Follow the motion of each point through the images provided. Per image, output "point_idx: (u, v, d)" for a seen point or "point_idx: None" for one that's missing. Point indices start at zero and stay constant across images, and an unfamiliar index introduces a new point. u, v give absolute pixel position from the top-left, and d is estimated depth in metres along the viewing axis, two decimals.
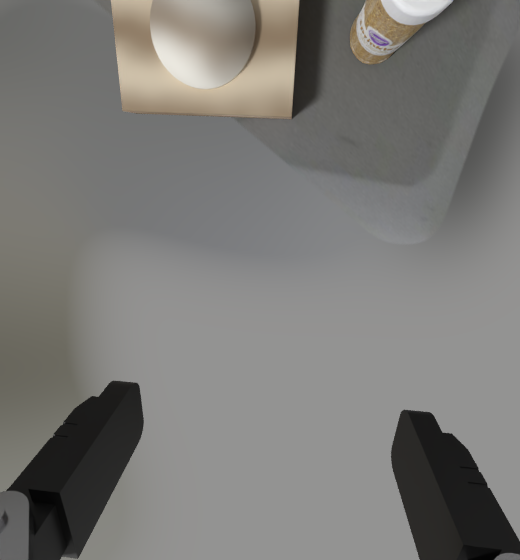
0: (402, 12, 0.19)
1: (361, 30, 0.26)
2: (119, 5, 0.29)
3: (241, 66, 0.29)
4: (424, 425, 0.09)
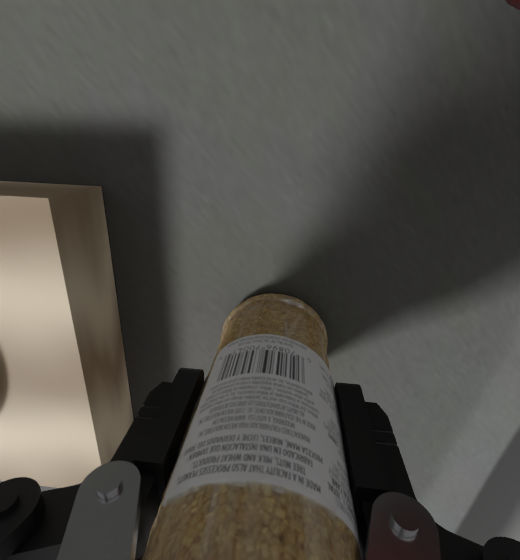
0: None
1: None
2: None
3: None
4: (349, 394, 0.10)
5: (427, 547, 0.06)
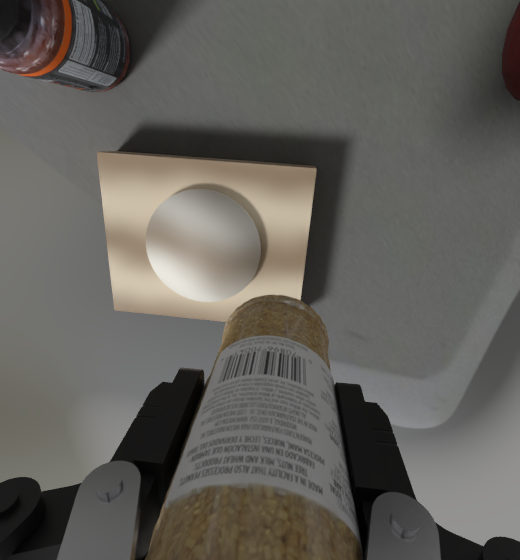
0: None
1: None
2: (112, 219, 0.26)
3: (244, 286, 0.27)
4: (349, 394, 0.10)
5: (427, 547, 0.06)
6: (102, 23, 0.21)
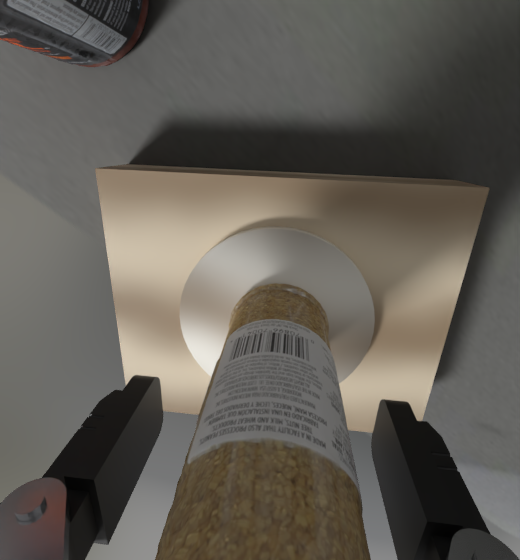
0: None
1: None
2: (123, 277, 0.16)
3: (341, 379, 0.16)
4: (400, 413, 0.09)
5: None
6: None
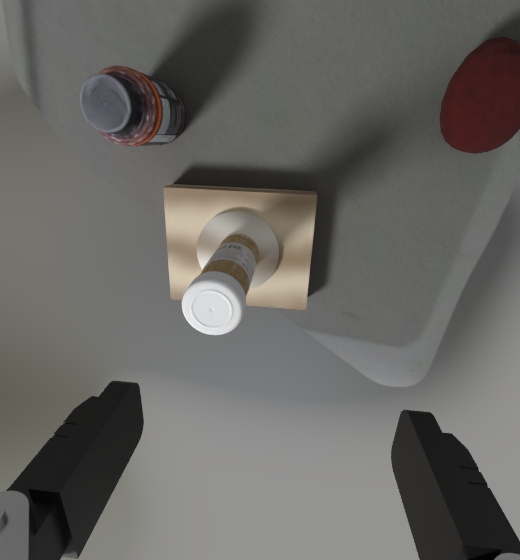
0: (200, 331, 0.25)
1: None
2: (172, 233, 0.37)
3: (267, 279, 0.37)
4: (424, 425, 0.09)
5: None
6: (173, 106, 0.31)
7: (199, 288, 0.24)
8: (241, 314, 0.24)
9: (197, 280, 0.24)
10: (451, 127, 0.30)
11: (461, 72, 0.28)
